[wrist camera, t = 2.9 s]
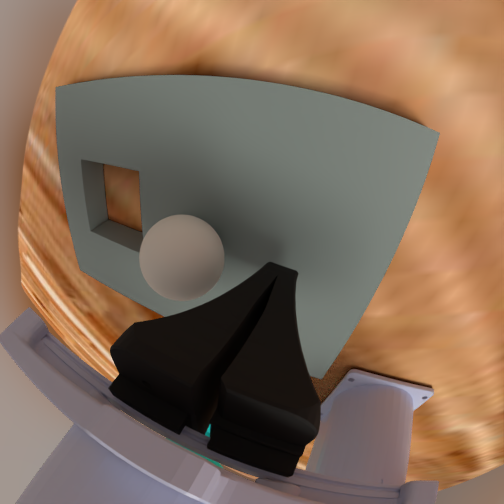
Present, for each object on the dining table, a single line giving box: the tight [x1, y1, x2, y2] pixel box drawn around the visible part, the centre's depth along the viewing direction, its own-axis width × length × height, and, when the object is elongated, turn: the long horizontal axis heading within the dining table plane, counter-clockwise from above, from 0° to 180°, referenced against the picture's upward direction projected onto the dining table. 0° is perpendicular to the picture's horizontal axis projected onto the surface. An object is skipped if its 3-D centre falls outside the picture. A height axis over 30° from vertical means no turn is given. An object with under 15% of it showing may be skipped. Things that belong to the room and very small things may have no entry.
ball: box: [139, 214, 224, 301], centre depth 13 cm, size 4×4×4 cm
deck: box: [56, 75, 440, 379], centre depth 15 cm, size 16×22×2 cm
